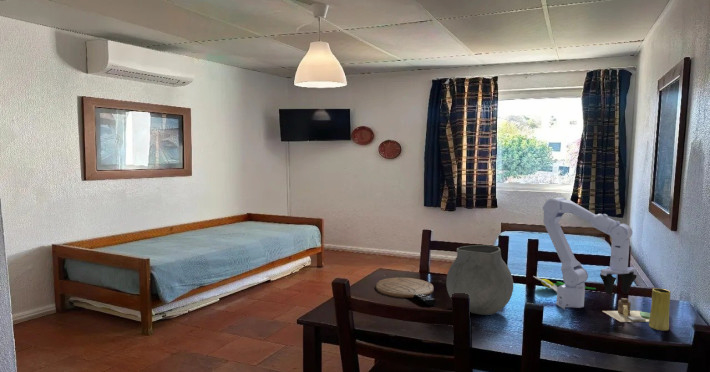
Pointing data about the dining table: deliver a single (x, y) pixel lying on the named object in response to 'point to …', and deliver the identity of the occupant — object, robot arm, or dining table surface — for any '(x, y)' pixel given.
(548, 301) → the dining table surface
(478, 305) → the ceramic pot
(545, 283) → the decorative flower
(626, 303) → the knob
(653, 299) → the vase
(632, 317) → the tuner board
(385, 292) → the trivet
